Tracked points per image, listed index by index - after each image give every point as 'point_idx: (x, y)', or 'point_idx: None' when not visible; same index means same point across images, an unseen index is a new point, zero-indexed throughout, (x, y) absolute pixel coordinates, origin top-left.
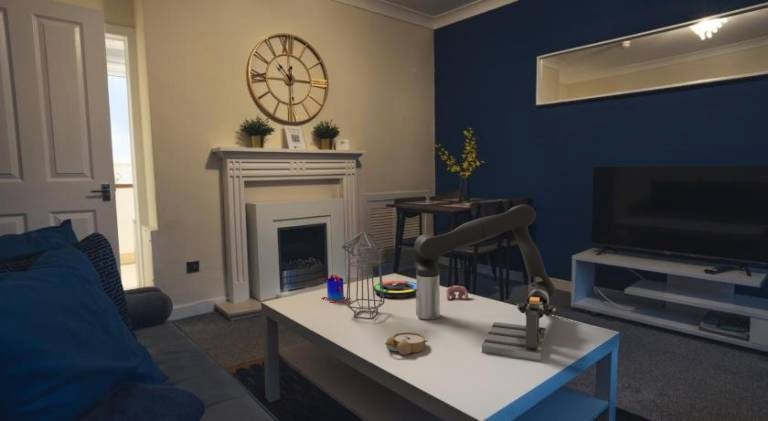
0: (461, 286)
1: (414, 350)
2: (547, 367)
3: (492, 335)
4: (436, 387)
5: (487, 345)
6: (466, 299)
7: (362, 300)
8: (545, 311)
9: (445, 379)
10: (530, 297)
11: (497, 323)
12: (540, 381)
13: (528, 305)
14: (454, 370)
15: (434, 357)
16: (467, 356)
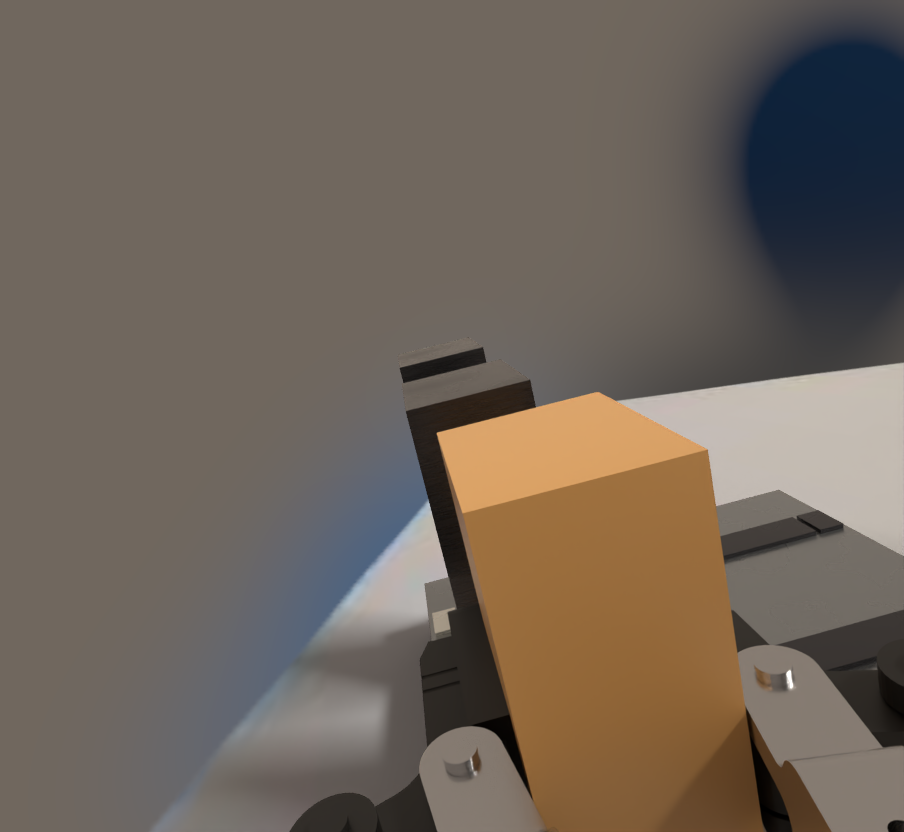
0: None
1: None
2: (392, 605)
3: (894, 589)
4: (676, 402)
5: (749, 501)
6: None
7: None
8: (388, 821)
9: (692, 417)
10: (669, 432)
11: None
12: (409, 530)
13: (872, 758)
14: (720, 438)
15: (892, 431)
16: (796, 489)
